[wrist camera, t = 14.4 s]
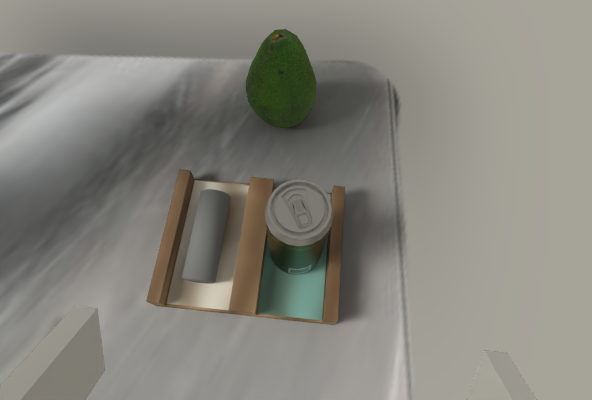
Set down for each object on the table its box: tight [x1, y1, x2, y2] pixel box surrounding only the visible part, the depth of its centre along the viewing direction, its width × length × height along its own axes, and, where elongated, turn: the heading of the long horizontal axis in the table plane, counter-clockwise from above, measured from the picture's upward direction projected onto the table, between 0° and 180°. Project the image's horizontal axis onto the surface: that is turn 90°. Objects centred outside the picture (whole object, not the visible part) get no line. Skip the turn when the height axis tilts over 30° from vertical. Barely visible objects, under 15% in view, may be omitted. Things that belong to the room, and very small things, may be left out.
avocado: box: [246, 29, 316, 128], centre depth 42 cm, size 8×8×12 cm
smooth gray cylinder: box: [182, 189, 231, 284], centre depth 38 cm, size 9×3×3 cm, turn 174°
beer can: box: [265, 179, 333, 275], centre depth 34 cm, size 5×5×12 cm
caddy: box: [147, 170, 345, 325], centre depth 39 cm, size 18×14×3 cm
